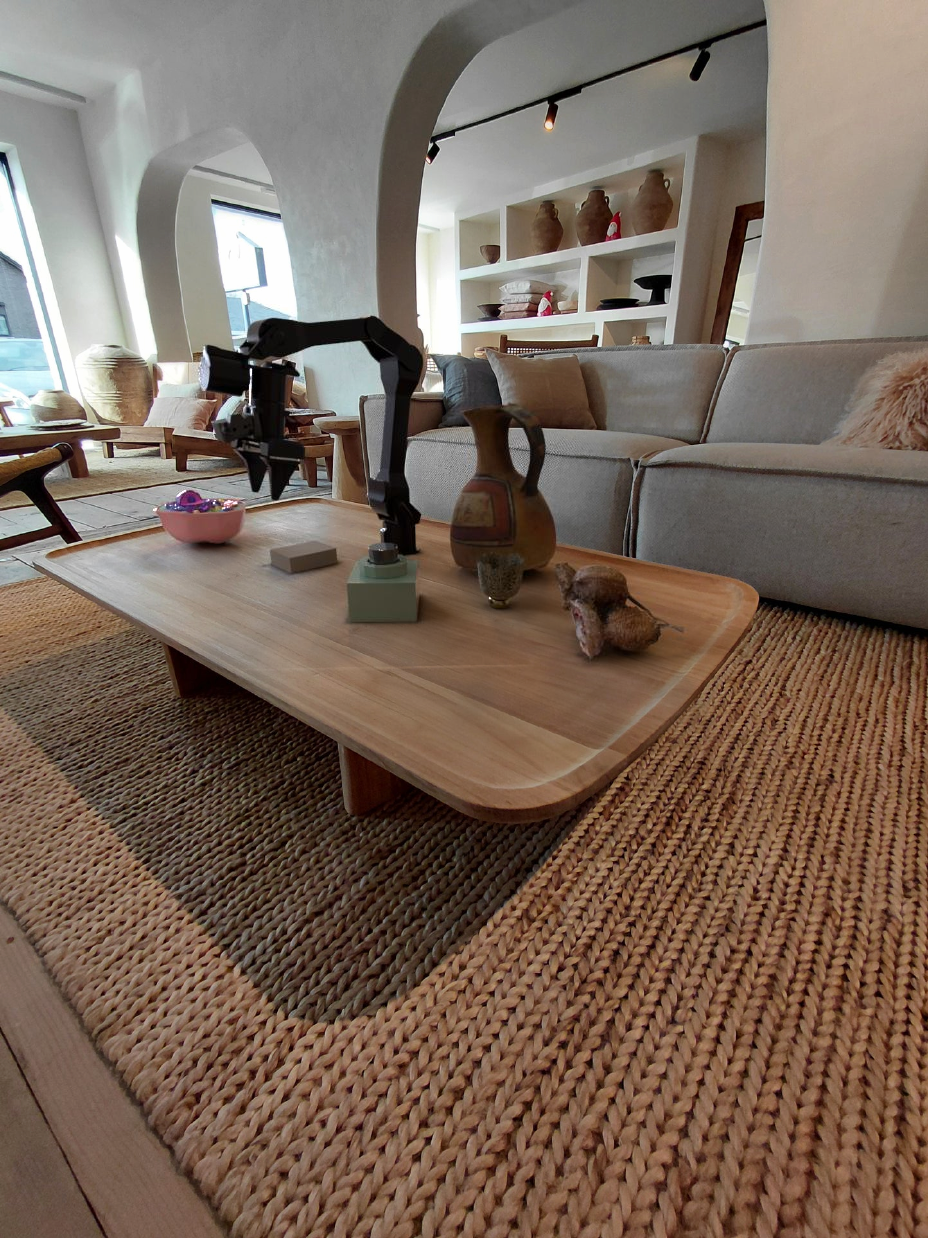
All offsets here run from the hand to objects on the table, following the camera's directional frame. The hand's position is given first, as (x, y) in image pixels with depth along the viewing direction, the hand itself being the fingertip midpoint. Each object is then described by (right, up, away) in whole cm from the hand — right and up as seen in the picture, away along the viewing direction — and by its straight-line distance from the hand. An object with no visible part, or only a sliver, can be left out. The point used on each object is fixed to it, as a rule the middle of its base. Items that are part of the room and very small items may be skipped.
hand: (264, 496), depth 101 cm
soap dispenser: (+23, -20, -9) cm, 31 cm away
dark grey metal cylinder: (+23, -13, -12) cm, 29 cm away
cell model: (-22, -5, +27) cm, 35 cm away
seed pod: (+54, -25, -21) cm, 63 cm away
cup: (+41, -20, -8) cm, 46 cm away
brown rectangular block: (+3, -11, +13) cm, 17 cm away
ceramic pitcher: (+42, -12, +9) cm, 45 cm away
